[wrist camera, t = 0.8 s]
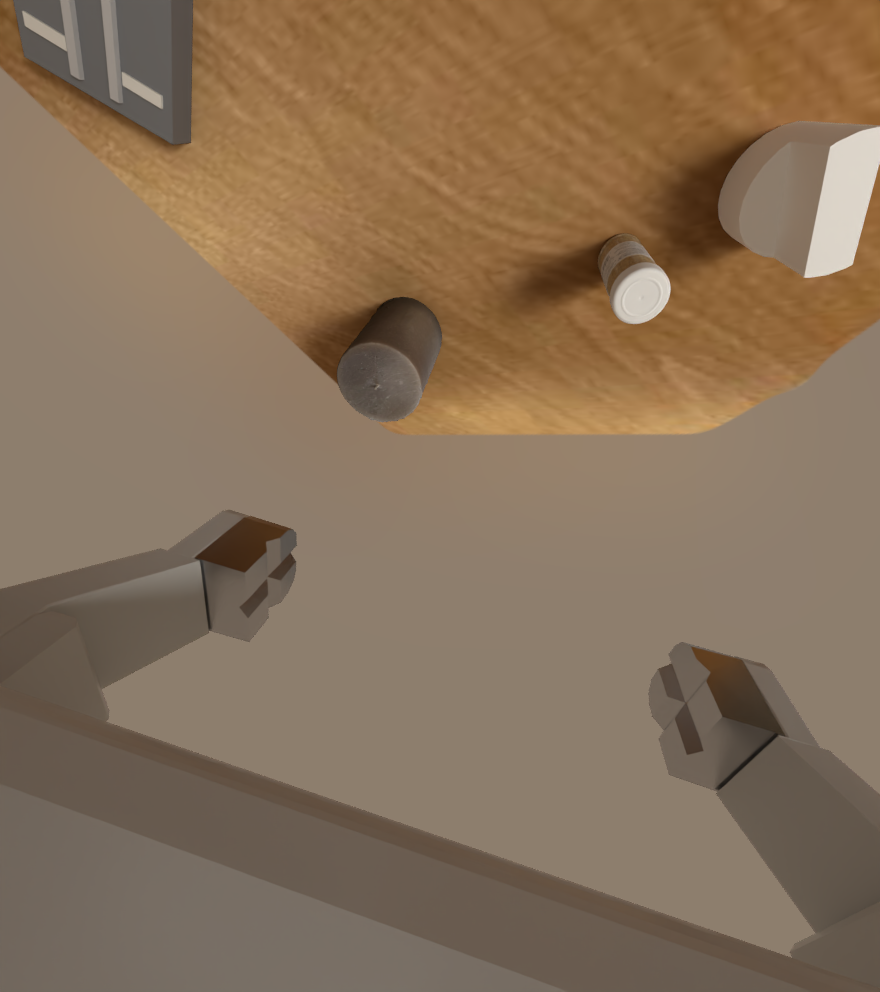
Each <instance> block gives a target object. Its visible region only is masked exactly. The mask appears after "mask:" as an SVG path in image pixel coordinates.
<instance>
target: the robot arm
mask: <svg viewBox="0 0 880 992" xmlns="http://www.w3.org/2000/svg"><path fill="white" fill-rule="evenodd" d="M296 544H297V543H296V532H295V531H294V530H293V529H290V528H287V527H284V526H281V525H278V524H275V523H272V522H268V521H265V520H262V519H259V518H256V517H252V516H248V515H245V514H242V513H238V512H235V511H232V510H226V511H222V512H221V513H219V514H217V515H216V516H215V517H213V518H212V519H211V520H209V521H208V522H206V523H205V524H204V525H202V526H201V527H199V528H198V529H197V530H195V531H194V532H193V533H191V534H190V535H188V536H187V537H186V538H184V539H183V540H181V541H180V542H179V543H177V544H176V545H174V546H173V547H172V548H170V549H169V550H168V551H167V550H164V549H156V550H152V551H149V552H145V553H141V554H137V555H133V556H129V557H125V558H121V559H117V560H113V561H109V562H105V563H101V564H97V565H93V566H89V567H86V568H82V569H78V570H74V571H70V572H66V573H62V574H58V575H54V576H50V577H46V578H42V579H38V580H34V581H31V582H26V583H22V584H18V585H15V586H11V587H7V588H3V589H0V992H880V794H879V793H878V792H876V791H875V790H874V789H873V788H872V787H870V785H868V784H867V783H866V782H865V781H864V780H863V779H862V778H860V777H859V776H858V775H857V774H856V773H855V772H854V771H852V770H851V769H850V768H849V767H848V766H847V765H846V764H844V763H843V762H842V761H841V760H840V759H839V758H837V757H836V756H835V755H834V754H833V753H832V752H831V751H829V750H826V749H823V748H820V746H819V745H818V743H817V742H816V740H815V739H814V737H813V736H812V734H811V732H810V731H809V729H808V728H807V726H806V724H805V723H804V721H803V720H802V718H801V716H800V715H799V713H798V712H797V710H796V709H795V707H794V705H793V704H792V703H791V701H790V699H789V697H788V696H787V694H786V693H785V691H784V690H783V688H782V686H781V685H780V683H779V682H778V680H777V678H776V677H775V675H774V674H773V672H772V671H771V670H770V669H769V668H768V667H766V666H765V665H764V664H762V663H758V662H754V661H750V660H747V659H743V658H739V657H733V656H730V655H726V654H723V653H719V652H715V651H712V650H709V649H705V648H701V647H698V646H694V645H691V644H687V643H684V642H681V643H679V644H677V645H676V646H675V647H674V648H673V649H672V651H671V652H670V653H669V657H670V661H671V664H669V665H667V666H664V667H662V668H659V669H658V670H657V672H656V673H655V675H654V677H653V678H652V680H651V684H650V689H649V705H650V709H651V713H652V717H653V718H654V719H655V720H656V721H657V723H658V724H659V725H660V726H661V727H662V729H663V732H662V734H661V736H660V738H659V741H660V745H661V748H662V752H663V755H664V759H665V762H666V765H667V769H668V773H669V775H671V776H674V777H677V778H680V779H683V780H686V781H689V782H691V783H694V784H697V785H700V786H703V787H706V788H709V789H711V790H714V791H717V793H716V794H717V796H718V797H719V798H720V800H721V801H722V803H723V804H724V805H725V807H726V808H727V810H728V811H729V812H730V814H731V815H732V817H733V818H734V819H735V821H736V822H737V823H738V825H739V826H740V828H741V829H742V831H743V832H744V833H745V835H746V836H747V837H748V839H749V841H750V842H751V843H752V845H753V846H754V848H755V849H756V850H757V852H758V853H759V855H760V856H761V857H762V859H763V860H764V861H765V863H766V864H767V866H768V867H769V869H770V870H771V871H772V873H773V874H774V876H775V877H776V878H777V880H778V881H779V883H780V884H781V885H782V887H783V888H784V890H785V891H786V892H787V894H788V895H789V897H790V898H791V899H792V901H793V902H794V904H795V905H796V906H797V908H798V909H799V911H800V912H801V913H802V915H803V916H804V917H805V919H806V920H807V922H808V923H809V925H810V926H811V927H812V929H813V930H814V932H815V933H816V934H814V935H811V936H810V937H808V938H806V939H804V940H801V941H799V942H798V943H795V944H794V946H793V948H792V949H791V951H790V953H791V956H792V958H791V957H788V956H785V955H782V954H779V953H776V952H774V951H771V950H767V949H765V948H762V947H759V946H756V945H753V944H750V943H747V942H745V941H742V940H739V939H736V938H733V937H730V936H727V935H724V934H721V933H718V932H716V931H713V930H710V929H706V928H704V927H701V926H698V925H695V924H692V923H689V922H687V921H684V920H681V919H678V918H675V917H672V916H669V915H666V914H663V913H660V912H658V911H655V910H652V909H649V908H646V907H643V906H640V905H637V904H634V903H631V902H629V901H625V900H623V899H620V898H617V897H614V896H611V895H608V894H605V893H603V892H599V891H597V890H594V889H591V888H588V887H585V886H582V885H579V884H576V883H574V882H571V881H568V880H565V879H562V878H559V877H556V876H553V875H550V874H547V873H545V872H542V871H539V870H536V869H533V868H530V867H527V866H524V865H521V864H518V863H515V862H513V861H509V860H507V859H504V858H501V857H498V856H495V855H492V854H489V853H487V852H483V851H481V850H478V849H475V848H472V847H469V846H466V845H463V844H460V843H457V842H455V841H452V840H449V839H446V838H443V837H440V836H437V835H434V834H431V833H428V832H425V831H423V830H420V829H417V828H413V827H411V826H408V825H405V824H402V823H399V822H396V821H393V820H390V819H388V818H385V817H382V816H379V815H376V814H373V813H370V812H367V811H364V810H361V809H359V808H356V807H353V806H350V805H347V804H344V803H341V802H338V801H335V800H332V799H329V798H327V797H323V796H321V795H318V794H315V793H312V792H309V791H306V790H303V789H300V788H297V787H294V786H292V785H289V784H286V783H283V782H280V781H277V780H274V779H271V778H268V777H266V776H262V775H260V774H257V773H254V772H251V771H248V770H245V769H242V768H239V767H236V766H233V765H231V764H228V763H225V762H222V761H219V760H216V759H213V758H210V757H207V756H204V755H201V754H199V753H196V752H193V751H190V750H187V749H184V748H181V747H178V746H175V745H172V744H170V743H167V742H163V741H161V740H158V739H155V738H152V737H149V736H146V735H143V734H140V733H138V732H134V731H132V730H129V729H126V728H123V727H120V726H117V725H114V724H111V723H108V722H106V721H107V720H108V718H109V709H108V706H107V703H106V700H105V697H104V695H103V692H102V689H103V688H105V687H107V686H108V685H111V684H112V683H114V682H116V681H118V680H120V679H122V678H124V677H126V676H128V675H130V674H131V673H134V672H135V671H137V670H139V669H141V668H143V667H145V666H147V665H149V664H151V663H153V662H155V661H156V660H158V659H160V658H162V657H164V656H166V655H168V654H170V653H172V652H174V651H176V650H178V649H179V648H181V647H183V646H185V645H187V644H189V643H191V642H193V641H195V640H197V639H199V638H200V637H202V636H204V635H206V634H208V633H209V631H213V632H216V633H220V634H223V635H226V636H230V637H233V638H237V639H241V640H244V641H248V642H250V640H251V639H252V638H253V637H254V635H255V634H256V633H257V632H258V630H259V629H260V628H261V627H262V625H263V624H264V623H265V621H266V620H267V619H268V608H269V607H272V606H274V605H276V604H279V603H280V602H281V601H282V600H283V599H284V597H285V596H286V594H287V593H288V591H289V589H290V587H291V585H292V583H293V580H294V577H295V572H296V561H295V559H294V557H293V556H292V554H291V553H290V552H291V551H292V550H293V549H294V548H295V547H296V546H297V545H296Z"/></svg>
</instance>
